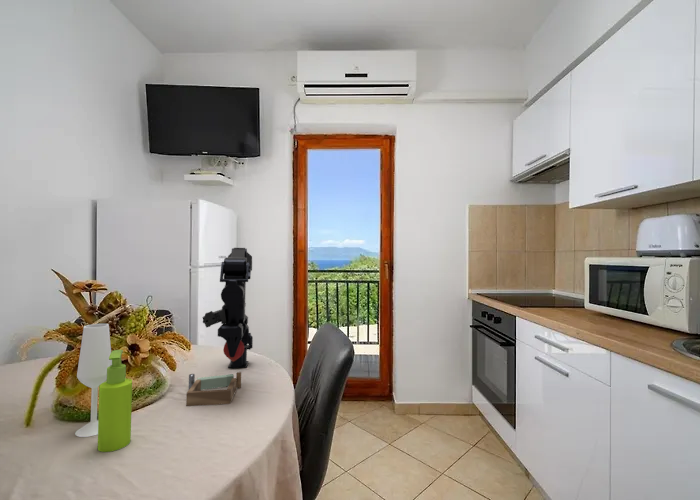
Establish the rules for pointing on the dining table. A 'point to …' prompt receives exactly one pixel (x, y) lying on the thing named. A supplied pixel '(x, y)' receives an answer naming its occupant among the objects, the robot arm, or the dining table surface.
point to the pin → (191, 380)
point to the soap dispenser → (115, 407)
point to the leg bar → (215, 381)
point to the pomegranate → (238, 353)
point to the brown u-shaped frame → (212, 393)
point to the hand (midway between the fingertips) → (233, 354)
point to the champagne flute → (93, 368)
